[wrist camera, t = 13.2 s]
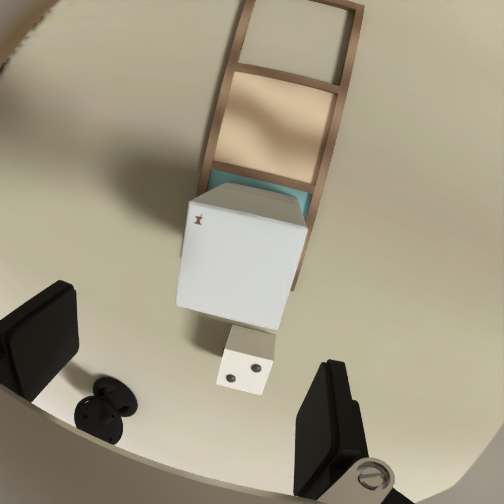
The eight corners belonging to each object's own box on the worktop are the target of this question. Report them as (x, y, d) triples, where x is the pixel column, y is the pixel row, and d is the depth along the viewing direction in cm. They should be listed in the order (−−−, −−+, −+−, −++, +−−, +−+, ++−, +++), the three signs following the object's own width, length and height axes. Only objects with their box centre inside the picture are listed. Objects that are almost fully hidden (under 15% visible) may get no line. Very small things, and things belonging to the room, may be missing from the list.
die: (231, 323, 36) (222, 348, 31) (275, 334, 35) (273, 361, 31) (223, 357, 37) (214, 384, 32) (264, 368, 37) (261, 396, 32)
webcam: (86, 383, 42) (55, 424, 33) (112, 368, 40) (78, 413, 31) (120, 417, 43) (95, 461, 34) (148, 406, 41) (123, 454, 32)
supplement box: (211, 251, 33) (170, 306, 21) (226, 179, 31) (186, 196, 19) (282, 268, 33) (278, 334, 21) (301, 197, 30) (310, 226, 18)
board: (252, -16, 24) (251, -19, 23) (363, 8, 24) (364, 5, 23) (186, 260, 34) (184, 263, 33) (293, 288, 33) (293, 291, 33)
